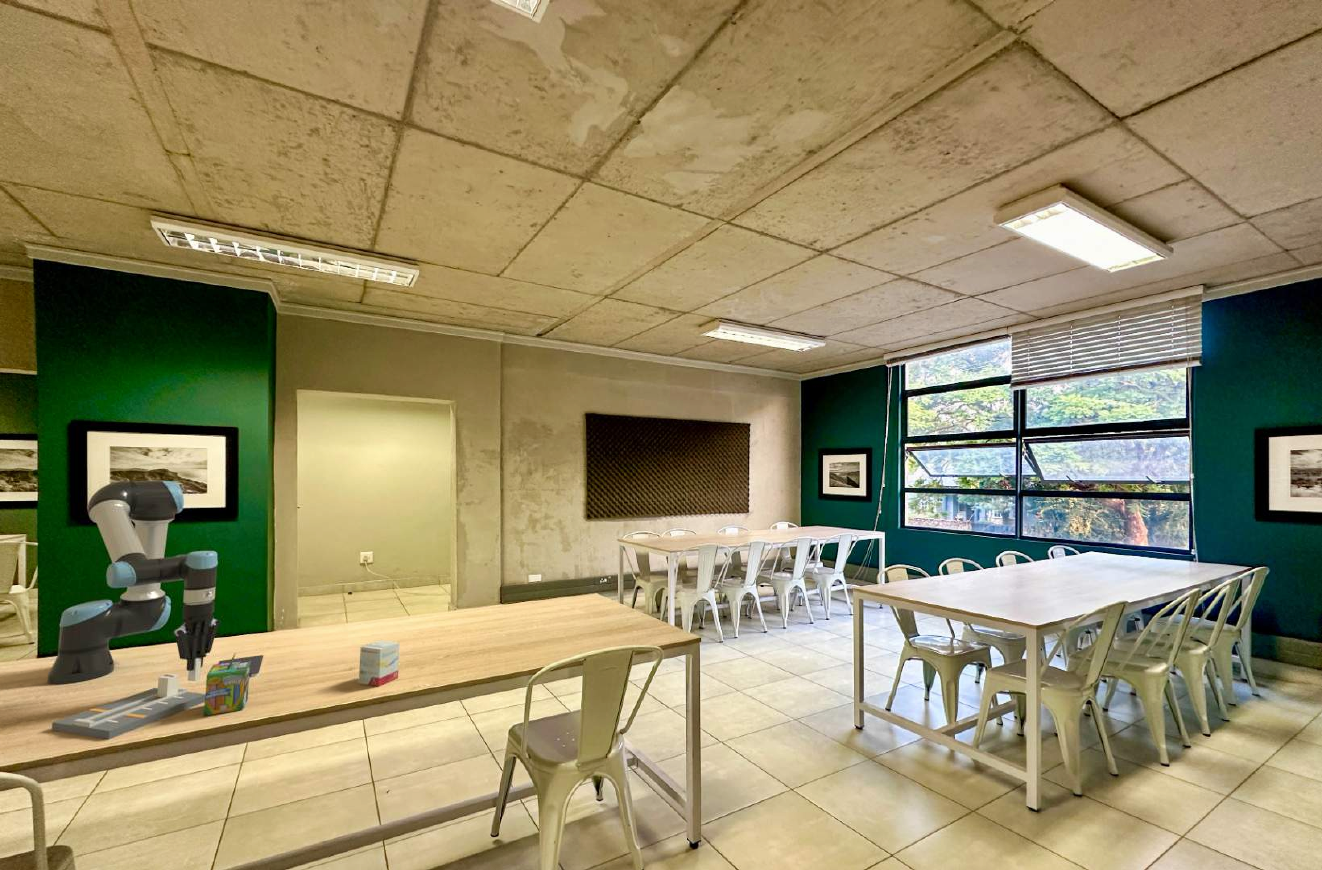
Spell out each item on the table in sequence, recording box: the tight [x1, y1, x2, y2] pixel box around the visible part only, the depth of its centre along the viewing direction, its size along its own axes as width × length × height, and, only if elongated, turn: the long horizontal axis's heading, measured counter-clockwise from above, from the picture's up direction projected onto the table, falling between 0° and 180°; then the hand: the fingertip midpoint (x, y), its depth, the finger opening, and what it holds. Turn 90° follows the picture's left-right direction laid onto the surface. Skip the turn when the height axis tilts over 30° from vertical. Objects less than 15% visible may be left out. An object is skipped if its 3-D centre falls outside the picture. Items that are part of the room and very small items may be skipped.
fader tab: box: [157, 673, 180, 697], centre depth 162 cm, size 4×3×6 cm
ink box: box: [358, 639, 400, 687], centre depth 180 cm, size 9×9×12 cm
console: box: [51, 686, 206, 740], centre depth 153 cm, size 20×24×3 cm
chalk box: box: [203, 652, 251, 717], centre depth 159 cm, size 9×9×15 cm
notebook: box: [217, 654, 264, 678], centre depth 189 cm, size 13×2×21 cm
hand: (193, 680), depth 169 cm, fingers closed
